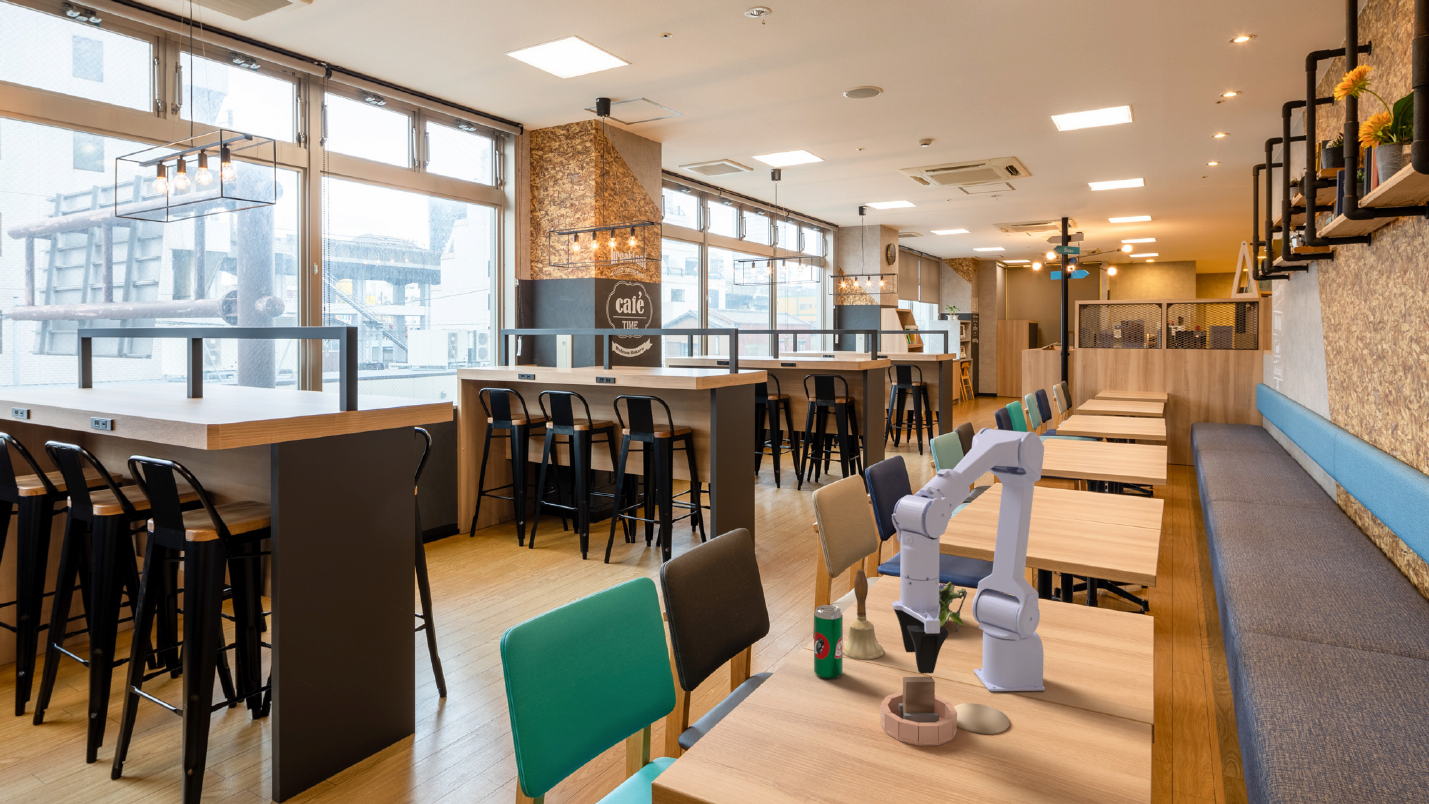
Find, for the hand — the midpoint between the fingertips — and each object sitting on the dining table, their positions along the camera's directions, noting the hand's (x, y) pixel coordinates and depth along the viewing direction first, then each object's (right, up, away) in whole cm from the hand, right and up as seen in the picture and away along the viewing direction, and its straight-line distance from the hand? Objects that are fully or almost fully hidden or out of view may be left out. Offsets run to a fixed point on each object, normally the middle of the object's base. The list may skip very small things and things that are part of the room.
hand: (918, 661), depth 117 cm
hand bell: (-3, -8, +30) cm, 31 cm away
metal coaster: (+10, -10, +3) cm, 15 cm away
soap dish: (0, -10, +1) cm, 10 cm away
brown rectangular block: (0, -10, +1) cm, 10 cm away
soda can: (-11, -9, +20) cm, 24 cm away
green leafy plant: (+16, -7, +42) cm, 45 cm away
